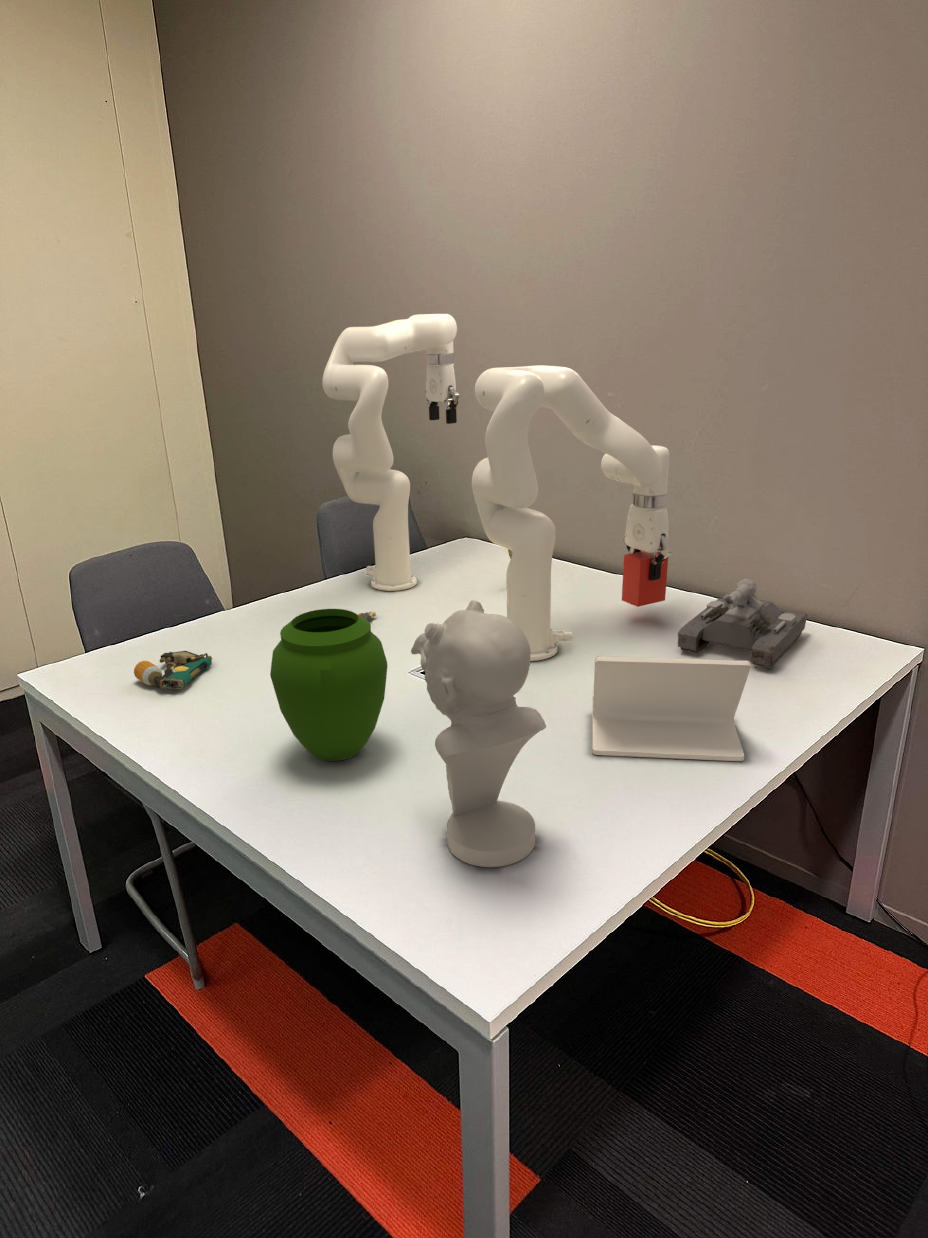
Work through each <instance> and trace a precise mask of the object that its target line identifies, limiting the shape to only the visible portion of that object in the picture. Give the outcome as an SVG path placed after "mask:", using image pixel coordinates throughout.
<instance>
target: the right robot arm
mask: <svg viewBox="0 0 928 1238" xmlns="http://www.w3.org/2000/svg"><path fill="white" fill-rule="evenodd" d="M474 385H475V386H474V396H475V399H476V401H477V402H478V404H479V405H480V406H481V407H483V408H484V409H485V410H487V411H490V412H493V413H492V415H491V417H490V420H489V422H488V423H487V427H486V430H485V434H484V445H485V450H486V455H487V456H486V457H485V458H483V459H481V460H480V461H478V462H477V464H476V465H475V467H474V470H473V472H472V476H471V490H472V494H473V498H474V501H475V505H476V509H477V513H478V516H479V520H480V522H481V526H482V529H483V531H484V534H485V535H486V537H487V539H488V540H489V541H490V542H491V543H493V544H494V545H497V546H498V547H501V548H504V549H507V550H508V549H509V550H511V551H512V552H513V554H512V558H511V559H510V561H509V563H508V564H507V569H506V577H505V578H506V579H505V580H506V584H505V585H506V617H507V618H509V619H511V620H512V621H513V622H514V623H515V624H516V625H517V626H518V627H519V628H520V629H521V630H522V632H523V633H524V634H525V636H526V638H527V640H528V643H529V646H530V652H531V653H530V655H531V656H530V662H535V661H536V662H537V661H543V660H547V659H550V658H552V657H554V656H555V655H556V654H557V652H558V643H559V642H568V641H569V642H570V641H572V640H573V633H572V632H571V631H563V629H556V630H553V629H552V628H551V625H552V621H551V618H552V616H551V613H552V609H551V608H552V562H553V555H554V550H555V545H556V540H557V530H556V526H555V524H554V522H553V520H552V519H551V518H550V517H549V516H548V515H546V514H544V512H542V511H539V510H536V509H532V508H529V507H531V506H532V505H533V504H534V503H535V502H536V501H537V498H538V496H539V485H538V477H537V474H536V471H535V466H534V463H533V462H534V461H533V458H532V455H531V450H530V444H529V436H528V435H529V428H530V426H531V422H532V421H533V419H534V416H535V415H536V413H537V412H538V410H539V409H540V408H545V409H549V410H551V411H552V412H553V413H554V414H555V415H556V416H557V417H558V418H559V420H561V422H562V423H563V424H564V425H565V426H566V428H567V429H568V430H569V431H570V432H571V434H573V436H574V437H575V438H576V439H577V440H579V442H581V443H583V444H585V445H587V446H588V447H590V448H592V449H595V450H597V451H600V452H602V453H604V454H603V456H602V458H601V461H600V469H601V471H602V474H603V475H604V476H605V477H606V478H608V479H609V480H612V481H615V482H617V483H622V484H627V485H632V486H633V493H632V495H631V496H632V503H631V504H630V505H629V509H628V513H627V518H626V525H625V533H624V534H625V535H624V536H623V538H622V541H623V542H624V545H625V546H626V550H627V551H628V554H631V553H636V552H641V551H645V552H648V553H650V556H651V561H652V564H650V568H649V580H651V581H653V580H657V579H660V578H661V564H662V563H663V562H664V560H665V559H666V558H667V557H668V558H669V556H671V555H672V554H673V549H672V548H671V546H670V544H669V513H668V508H667V499H668V485H669V483H668V482H669V472H670V471H669V469H670V458H671V457H670V455H671V454H670V453H671V452H670V450H669V449H668V448H667V447H665V446H662V445H651V443H650V442H649V441H648V440H647V439H646V438H645V437H644V436H643V435H642V434H641V433H640V432H638V431H637V430H635V429H634V428H633V427H631V426H630V425H629V424H627V423H626V422H624V421H623V420H622V419H621V418H619V417H618V416H616V415H614V414H613V413H612V412H610V411H609V410H608V409H607V407H605V405H604V404H603V402H601V401H600V399H599V398H598V397H597V396H596V394H595V392H594V391H592V390H591V388H590V387H589V386H588V384H587V383H586V382H585V380H584V379H583V378H582V377H581V376H580V374H579V373H578V372H577V371H576V370H573V368H569V367H565V366H556V365H545V364H543V365H541V364H540V365H539V364H538V365H527V366H525V365H524V366H509V367H492V368H488V369H485V371H483V372H482V373H480V375H479V376H478V378H477V379H476V382H475V384H474ZM655 553H657V554H658V556H657V557H656V554H655Z"/></svg>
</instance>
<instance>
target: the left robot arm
mask: <svg viewBox="0 0 928 1238" xmlns="http://www.w3.org/2000/svg"><path fill="white" fill-rule="evenodd" d="M457 333H458V324H457V321H456V319H455V318H454V317H453V316H452V315H451V314H449V313H425V314H424V313H422V314H421V313H420V314H413V315H411V316H409V317H408V318H405V319H404V318H403V319H396V320H395V319H394V320H392V321H389V322H385V323H382V324H378V325H374V326H373V325H372V326H348V327H346V328H345V329H344V330H342V332H341V333H340V335H339V336H338V337H337V339H336V341H335V344H334V345H333V348H332V350H331V353H330V356H329V358H328V361H327V363H326V365H325V368H324V369H323V370H324V372H323V374H322V380H321V381H322V383H321V384H322V388H323V392H324V393H325V395H326V396H327V397H328V398H330V399H332V400H336V401H355V402H356V401H357V402H356V404H355V406H354V409H353V410H352V412H351V413H350V416H349V418H348V422H347V428H348V431H349V434H348V433H347V434H343V435H340V436H339V437H337V439H336V440H335V441H334V443H333V447H332V461H333V464H334V467H335V470H336V471H337V475H338V478H339V480H340V481H341V482H340V483H341V485H342V486H343V488H344V491H345V493H346V495H347V497H348V498H349V499H350V500H351V501H352V502H354V503H357V504H364V505H374V506H378V507H379V509H378V510H377V512H376V514H375V515H374V517H373V520H372V532H373V533H372V534H373V547H374V563H375V564H374V565H375V566H374V565H367V566H366V568H365V571H364V573H365V575H368V576H372V579H371V580H370V583H371V584H370V585H371V587H372V588H373V589H375V590H379V591H384V592H393V591H395V592H396V591H404V590H408V589H411V588H413V587H415V586H416V585H417V584H418V578H417V577H416V576H414V575H413V574H412V570H411V567H412V566H411V552H410V550H411V549H410V531H409V530H410V529H409V502H410V501H409V500H410V493H411V481H410V479H409V477H408V475H406V474H405V473H404V472H402V471H400V470H397V469H392V467H393V465H394V454H393V449H392V446H391V444H390V441H389V437H388V434H387V433H386V430H385V427H384V423H383V420H382V413H383V408H384V405H385V400H386V397H387V394H388V390H389V377H388V374H387V372H386V371H385V370H384V368H382V367H380V366H377V365H372V364H354V363H379V362H380V363H381V362H385V361H388V360H391V359H394V358H396V357H398V356H403V355H405V354H413V353H417V352H421V351H426V361H427V365H426V372H425V373H426V375H425V377H426V378H425V390H424V391H425V397H426V401H427V406H428V420H429V421H438V420H440V405H439V403H443V402H444V405H445V407H446V409H445V423H446V424H447V425H451V424H456V423H457V422H458V421H457V409H458V404H459V398H460V393H458V391H457V383H456V374H455V373H456V372H455V357H454V353H455V352H454V340H455V338H456V336H457Z"/></svg>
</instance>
